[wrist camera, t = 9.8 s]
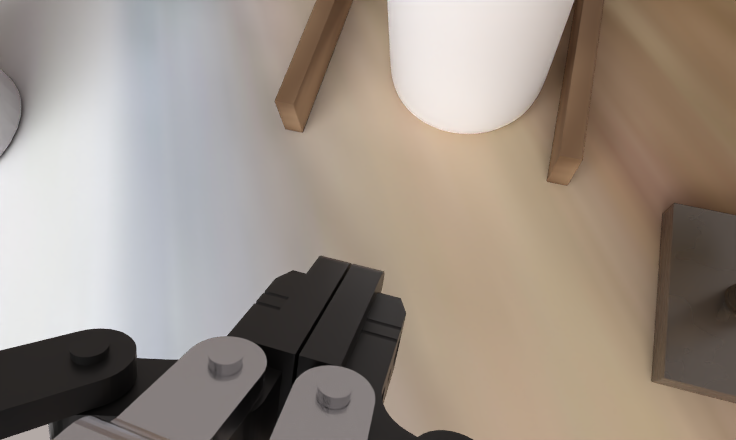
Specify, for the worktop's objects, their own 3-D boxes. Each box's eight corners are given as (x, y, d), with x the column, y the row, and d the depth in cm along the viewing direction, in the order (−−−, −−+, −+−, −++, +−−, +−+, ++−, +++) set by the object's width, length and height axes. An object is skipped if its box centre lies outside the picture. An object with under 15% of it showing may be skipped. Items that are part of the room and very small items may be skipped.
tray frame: (285, 129, 29) (274, 101, 26) (360, -60, 34) (357, -97, 32) (567, 185, 26) (582, 159, 24) (598, -30, 32) (612, -67, 29)
